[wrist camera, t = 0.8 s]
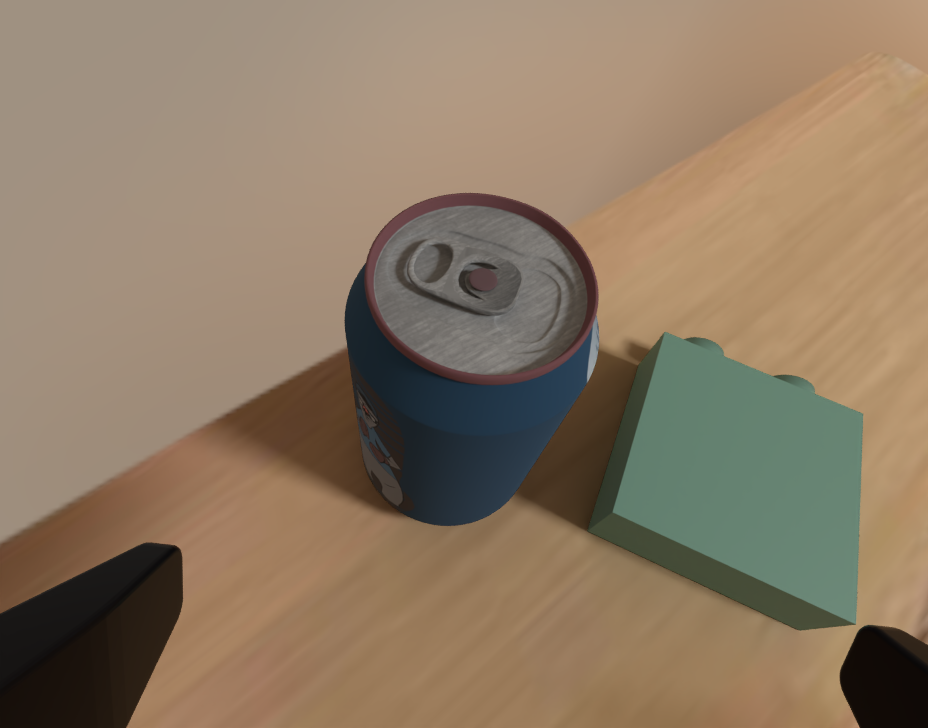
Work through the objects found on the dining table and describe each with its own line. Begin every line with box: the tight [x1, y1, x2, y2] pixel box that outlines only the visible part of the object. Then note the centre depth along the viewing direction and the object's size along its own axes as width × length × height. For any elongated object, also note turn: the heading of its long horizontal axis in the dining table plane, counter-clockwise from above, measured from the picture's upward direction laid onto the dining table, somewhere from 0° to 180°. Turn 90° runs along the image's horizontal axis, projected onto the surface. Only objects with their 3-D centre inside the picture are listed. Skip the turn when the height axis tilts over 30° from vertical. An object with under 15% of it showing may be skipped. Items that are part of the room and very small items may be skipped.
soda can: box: [345, 193, 599, 526], centre depth 18 cm, size 7×7×12 cm
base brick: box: [587, 332, 863, 630], centre depth 23 cm, size 10×9×3 cm
